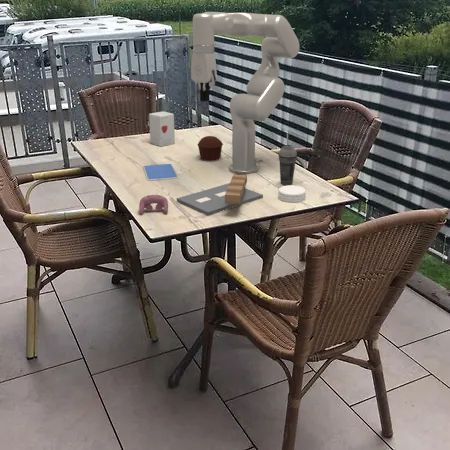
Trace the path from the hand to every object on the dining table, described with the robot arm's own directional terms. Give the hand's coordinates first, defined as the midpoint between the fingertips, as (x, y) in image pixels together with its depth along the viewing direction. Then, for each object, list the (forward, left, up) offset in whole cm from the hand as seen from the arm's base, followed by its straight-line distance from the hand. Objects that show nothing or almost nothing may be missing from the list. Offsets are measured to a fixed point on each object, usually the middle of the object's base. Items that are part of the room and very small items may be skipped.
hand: (204, 100), depth 209 cm
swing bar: (+6, +25, -28) cm, 38 cm away
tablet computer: (+7, -22, -33) cm, 40 cm away
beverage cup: (-22, +23, -32) cm, 45 cm away
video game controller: (+34, +13, -32) cm, 49 cm away
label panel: (+9, +19, -32) cm, 38 cm away
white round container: (-12, +35, -33) cm, 49 cm away
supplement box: (-21, -60, -32) cm, 71 cm away
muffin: (-22, -24, -32) cm, 46 cm away
